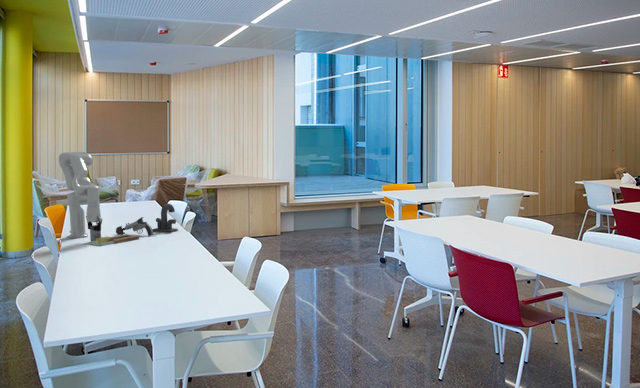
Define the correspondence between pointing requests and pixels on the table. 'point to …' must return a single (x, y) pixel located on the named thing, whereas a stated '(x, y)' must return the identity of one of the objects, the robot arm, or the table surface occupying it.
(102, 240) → the tan wooden cube
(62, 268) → the table surface
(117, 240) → the slot board
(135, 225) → the gun
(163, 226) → the faucet
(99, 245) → the tray
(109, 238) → the olive yellow cube
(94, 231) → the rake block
